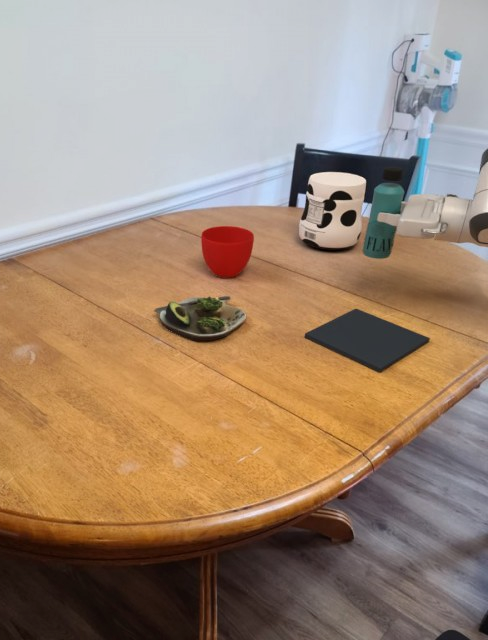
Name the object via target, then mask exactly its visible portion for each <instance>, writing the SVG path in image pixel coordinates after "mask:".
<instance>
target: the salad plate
mask: <svg viewBox="0 0 488 640" xmlns="http://www.w3.org/2000/svg"><path fill="white" fill-rule="evenodd" d="M230 300H231V296H230V295H224V296H215V297H211V296H208V297H205V296H194V297H192V296H191V297H188V298H186V299H183V300H181V301H180V302H177V301H170V302H168V304H167V305H164V306H160V307H157V308H154V310H153V312H155V313H157V315H158V318H159V321H160V323H161V324H162V326H163V327H164V328H165V329H166V328H167V329H168V330H167V329H166V330H167V331H169V330H170V331H169V332H171V331H172V332H171V333H173V334H175V333H176V334H175V335H177V334H178V335H177V336H179V335H180V336H179V337H181V336H182V337H181V338H183V337H184V339H186V338H187V339H186V340H189V339H190V341H195V342H204V343H206V342H213V341H216V340H219V339H221V338H223V337H225V336H226V337H227V336H228V335H229V334H230V333H231V332H232V331H234V330H235V329H237V328H239V327H240V326H241V325H242V324H243V323H244V322H245V321H246V319H247V314H246V313H245V311H244V310H243V309H242V308H239V307H236V306H232V305H228V304H226V303H227V302H228V301H230Z"/></svg>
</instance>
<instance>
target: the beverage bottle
mask: <svg viewBox="0 0 488 640" xmlns="http://www.w3.org/2000/svg"><path fill="white" fill-rule="evenodd" d="M403 177H404V169H403V168H401V167H396V166H388V167H384V168H383V172H382V175H381V179H382V180H384V181H390V182H382V183H380V184H378V185H377V186H376V187H374V189H373V196H372V201H371V207H370V212H369V217H368V222H367V225H366V229H365V233H364V234H365V236H364V240H363V243H362V246H363V247H362V254H363V256H365V257H367V258H370V259H378V260H380V259H382V260H383V259H387V258H389V257H390V256H391V254H392V252H393V249H394V248H393V247H394V244H395V239H396V231H397V226H392V225H390V224H388V223H385V222H379V221H378V220H377V218H378V214H379V212H381V211H383V212H388V213H390V214H395V215H396V214H401V213H400V212H401V211H400V209H401V204H402V201H403V198H404V195H405V190H404V188H403V187H402V185H401V184H399V183H396V182H400V181H402V180H403ZM394 182H395V183H394Z"/></svg>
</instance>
